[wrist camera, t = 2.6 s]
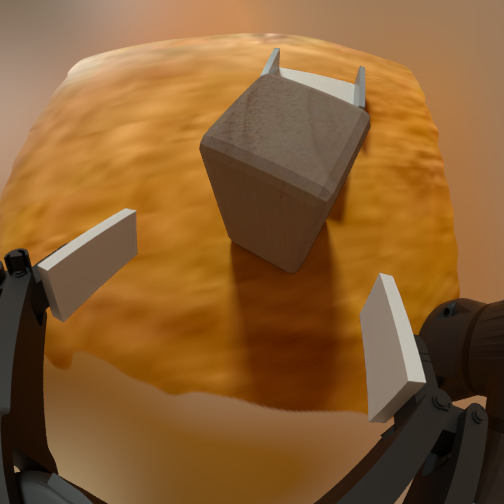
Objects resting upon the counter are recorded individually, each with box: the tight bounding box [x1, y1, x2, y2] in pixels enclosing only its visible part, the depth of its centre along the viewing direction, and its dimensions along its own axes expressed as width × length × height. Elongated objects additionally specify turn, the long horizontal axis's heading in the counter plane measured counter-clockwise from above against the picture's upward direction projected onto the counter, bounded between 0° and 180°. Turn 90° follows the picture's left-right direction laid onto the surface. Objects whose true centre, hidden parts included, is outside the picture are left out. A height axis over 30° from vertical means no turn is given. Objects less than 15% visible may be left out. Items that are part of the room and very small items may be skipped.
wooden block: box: [199, 74, 370, 273], centre depth 27 cm, size 10×10×20 cm
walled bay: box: [261, 48, 365, 110], centre depth 41 cm, size 13×18×6 cm
